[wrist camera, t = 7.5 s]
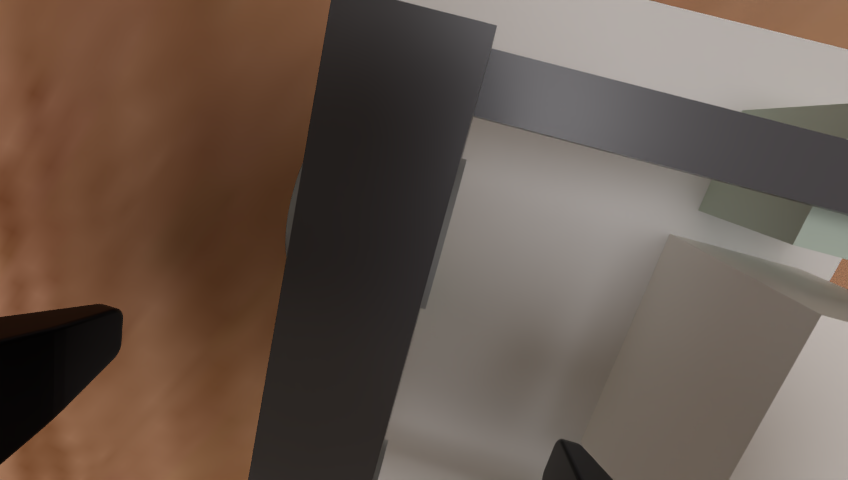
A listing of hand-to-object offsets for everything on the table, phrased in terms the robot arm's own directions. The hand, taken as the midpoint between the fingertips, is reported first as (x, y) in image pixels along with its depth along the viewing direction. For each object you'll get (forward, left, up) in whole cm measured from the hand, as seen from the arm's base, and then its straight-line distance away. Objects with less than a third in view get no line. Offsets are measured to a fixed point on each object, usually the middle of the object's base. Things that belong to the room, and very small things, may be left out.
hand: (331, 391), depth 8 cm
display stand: (-5, 0, -8) cm, 9 cm away
